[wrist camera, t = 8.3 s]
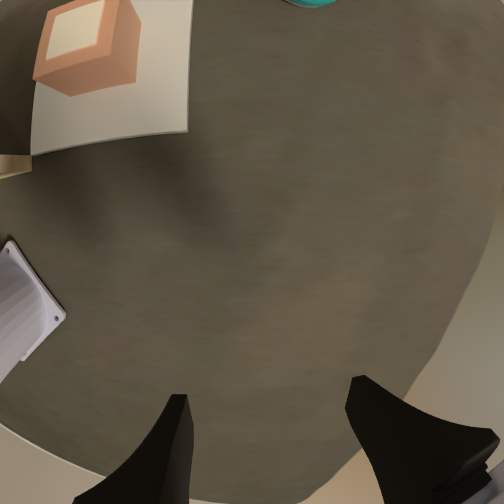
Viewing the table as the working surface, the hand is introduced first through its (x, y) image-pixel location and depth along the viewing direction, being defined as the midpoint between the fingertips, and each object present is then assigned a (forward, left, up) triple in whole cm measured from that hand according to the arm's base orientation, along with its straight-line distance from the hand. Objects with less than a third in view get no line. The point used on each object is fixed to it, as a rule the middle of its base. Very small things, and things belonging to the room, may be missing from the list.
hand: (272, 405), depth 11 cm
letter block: (+3, +21, -9) cm, 23 cm away
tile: (+2, +21, -10) cm, 23 cm away
